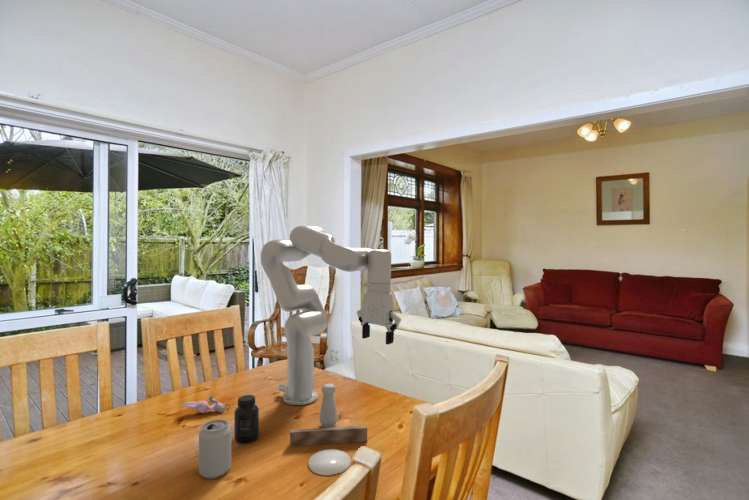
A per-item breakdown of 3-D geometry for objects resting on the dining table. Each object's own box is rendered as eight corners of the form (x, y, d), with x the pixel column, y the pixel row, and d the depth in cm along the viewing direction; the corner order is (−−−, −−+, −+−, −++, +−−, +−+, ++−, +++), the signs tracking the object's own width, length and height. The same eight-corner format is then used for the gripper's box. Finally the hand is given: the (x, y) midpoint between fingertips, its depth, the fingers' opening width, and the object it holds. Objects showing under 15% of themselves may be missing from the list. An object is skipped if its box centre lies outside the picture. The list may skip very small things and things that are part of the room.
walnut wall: (289, 446, 107) (290, 432, 107) (290, 443, 109) (290, 429, 108) (367, 441, 110) (367, 428, 110) (366, 438, 112) (366, 425, 111)
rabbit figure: (229, 410, 132) (183, 407, 129) (232, 393, 132) (186, 390, 129) (226, 418, 126) (178, 416, 123) (230, 401, 126) (181, 397, 123)
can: (205, 463, 99) (205, 417, 98) (234, 461, 99) (234, 416, 99) (193, 481, 91) (193, 432, 91) (225, 480, 92) (225, 431, 92)
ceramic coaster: (300, 470, 96) (300, 469, 96) (319, 448, 106) (319, 446, 106) (341, 478, 93) (341, 477, 93) (356, 454, 103) (356, 453, 103)
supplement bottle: (263, 434, 113) (263, 395, 113) (248, 446, 107) (249, 404, 107) (244, 430, 116) (244, 391, 115) (229, 441, 109) (229, 400, 109)
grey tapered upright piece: (339, 422, 122) (339, 382, 121) (335, 431, 116) (336, 389, 116) (321, 421, 122) (321, 381, 122) (317, 429, 117) (317, 388, 116)
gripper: (351, 286, 124) (349, 337, 125) (393, 292, 113) (392, 348, 114) (365, 284, 130) (364, 333, 131) (407, 289, 119) (406, 343, 120)
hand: (377, 340), depth 122 cm, fingers open, 9 cm apart
